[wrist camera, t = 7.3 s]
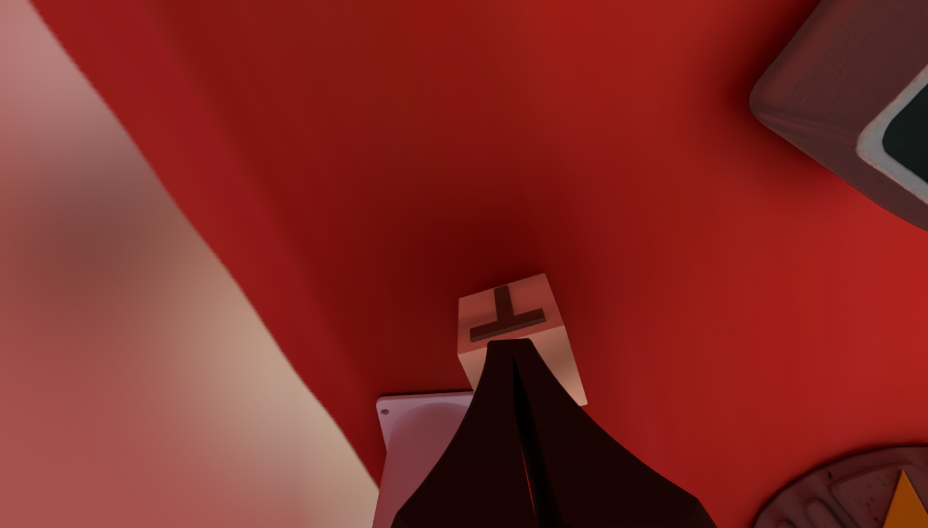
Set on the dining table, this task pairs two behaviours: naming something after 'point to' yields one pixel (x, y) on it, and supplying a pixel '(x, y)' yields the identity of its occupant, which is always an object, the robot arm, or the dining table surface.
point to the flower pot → (857, 98)
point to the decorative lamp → (856, 493)
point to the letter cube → (517, 329)
